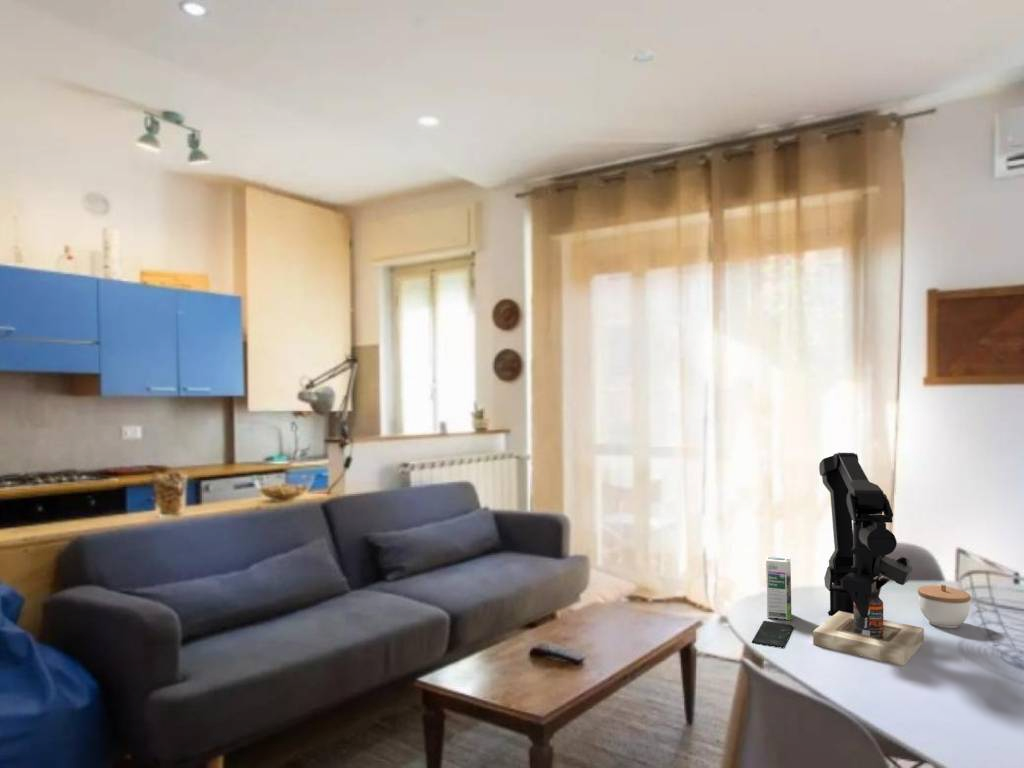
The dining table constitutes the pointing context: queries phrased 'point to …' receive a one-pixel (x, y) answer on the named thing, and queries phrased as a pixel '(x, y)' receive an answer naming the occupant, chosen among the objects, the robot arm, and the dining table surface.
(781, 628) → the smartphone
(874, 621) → the supplement bottle
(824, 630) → the maple socket board
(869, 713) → the dining table surface
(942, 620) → the lidded jar
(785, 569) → the syrup box
